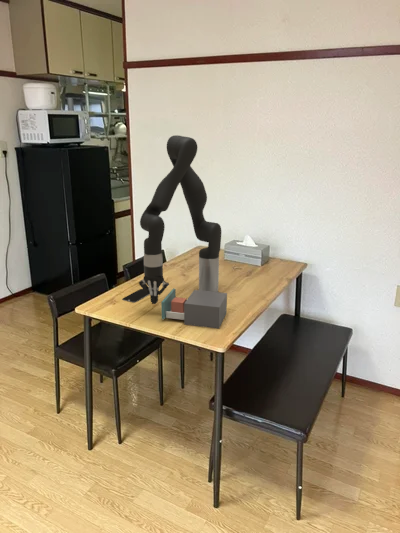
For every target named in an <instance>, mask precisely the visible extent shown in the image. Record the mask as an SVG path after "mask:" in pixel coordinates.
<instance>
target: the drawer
mask: <svg viewBox="0 0 400 533" xmlns="http://www.w3.org/2000/svg"><path fill="white" fill-rule="evenodd" d="M176 290H177V289H176V288H172V289H171V291H170V292H168V294H167V295H166V296H165V297H164V299H162V301H161V302H160V303H161V304H160V305H161V307H160V308H161V309H160V310H161V320H165V319H173V320H181V321H184V313H178V312H171V301H172V300H173V299H174V298H175V297H176V296H177V294H176Z"/></svg>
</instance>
